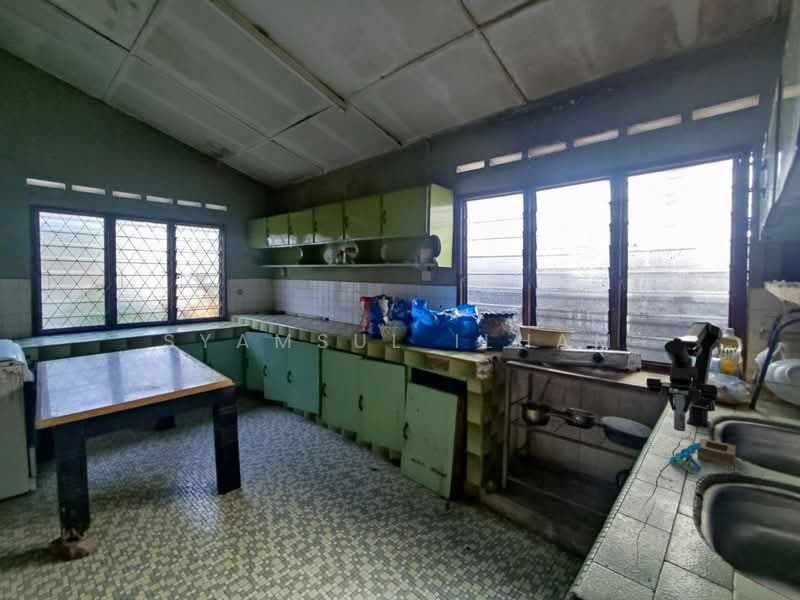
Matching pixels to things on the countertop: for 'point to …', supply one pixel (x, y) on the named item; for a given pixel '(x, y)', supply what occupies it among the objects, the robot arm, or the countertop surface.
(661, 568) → the countertop surface
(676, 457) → the blue lumpy figure
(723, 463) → the key holder
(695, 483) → the countertop surface
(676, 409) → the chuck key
